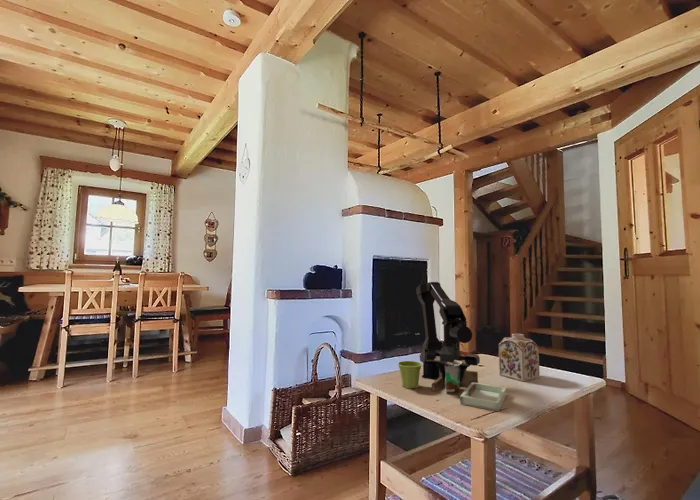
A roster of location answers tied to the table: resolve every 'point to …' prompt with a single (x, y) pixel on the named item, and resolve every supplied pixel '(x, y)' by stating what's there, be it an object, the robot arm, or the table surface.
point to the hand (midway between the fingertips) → (452, 380)
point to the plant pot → (410, 373)
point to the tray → (484, 396)
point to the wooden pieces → (467, 380)
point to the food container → (452, 377)
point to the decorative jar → (519, 358)
